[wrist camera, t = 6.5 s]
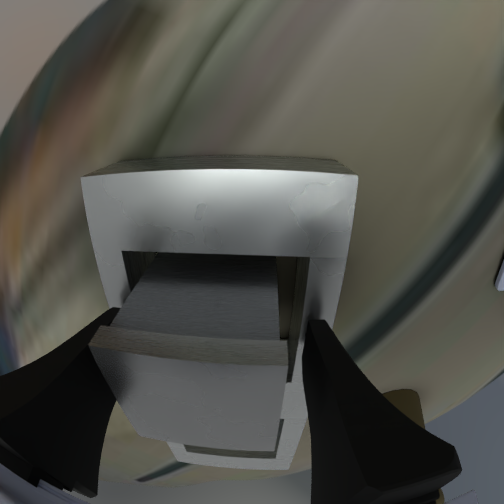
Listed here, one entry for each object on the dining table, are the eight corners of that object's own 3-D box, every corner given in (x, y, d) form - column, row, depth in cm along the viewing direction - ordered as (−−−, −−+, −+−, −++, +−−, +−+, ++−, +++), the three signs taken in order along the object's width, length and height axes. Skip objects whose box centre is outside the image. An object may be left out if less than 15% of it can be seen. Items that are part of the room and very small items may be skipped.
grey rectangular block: (278, 232, 12) (288, 365, 6) (273, 320, 14) (274, 451, 8) (168, 230, 12) (88, 345, 6) (181, 315, 15) (138, 435, 8)
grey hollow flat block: (336, 160, 11) (358, 175, 8) (287, 440, 20) (288, 469, 18) (119, 161, 11) (80, 177, 8) (183, 432, 21) (177, 461, 18)
